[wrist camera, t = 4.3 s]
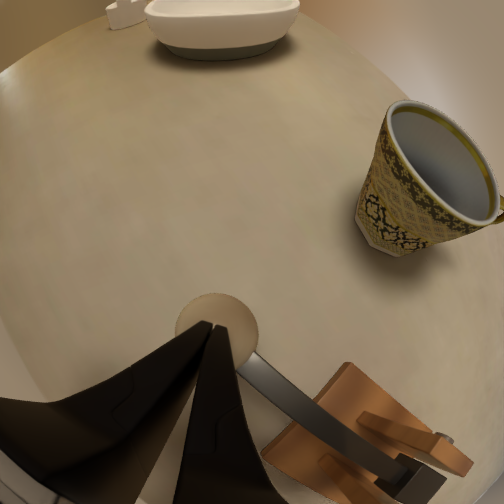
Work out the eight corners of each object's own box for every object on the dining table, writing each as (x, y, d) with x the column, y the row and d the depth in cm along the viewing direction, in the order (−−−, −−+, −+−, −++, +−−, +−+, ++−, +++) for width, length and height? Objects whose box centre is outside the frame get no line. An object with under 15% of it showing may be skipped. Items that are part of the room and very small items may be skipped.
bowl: (292, 24, 37) (298, -11, 29) (292, 78, 29) (303, 23, 21) (177, 20, 36) (174, -13, 29) (128, 74, 28) (115, 27, 21)
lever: (170, 336, 12) (146, 329, 9) (219, 287, 13) (212, 265, 10) (388, 501, 9) (417, 522, 5) (425, 457, 10) (460, 471, 6)
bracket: (260, 451, 15) (280, 528, 6) (345, 361, 18) (430, 362, 8) (356, 507, 13) (412, 563, 4) (425, 429, 15) (507, 447, 6)
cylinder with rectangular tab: (149, 20, 37) (142, -24, 26) (109, 33, 36) (98, -10, 24) (148, 12, 40) (142, -27, 29) (112, 23, 38) (103, -15, 27)
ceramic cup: (324, 250, 21) (383, 174, 11) (346, 160, 24) (386, 81, 15) (446, 301, 20) (528, 266, 10) (449, 212, 23) (507, 161, 14)
